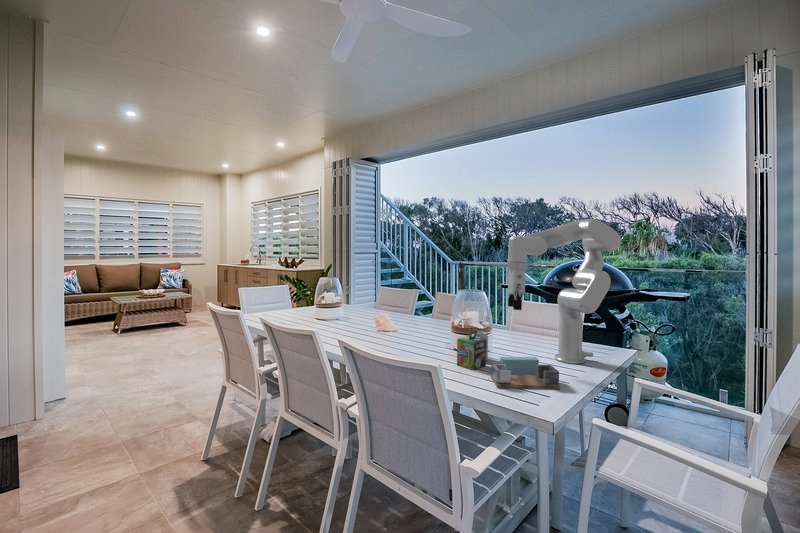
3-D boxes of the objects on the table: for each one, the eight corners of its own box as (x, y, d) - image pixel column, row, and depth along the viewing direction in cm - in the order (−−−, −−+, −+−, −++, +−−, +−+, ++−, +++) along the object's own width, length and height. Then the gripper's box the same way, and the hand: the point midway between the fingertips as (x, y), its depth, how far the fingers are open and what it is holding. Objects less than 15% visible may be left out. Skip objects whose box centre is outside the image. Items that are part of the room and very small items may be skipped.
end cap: (504, 375, 150) (505, 364, 149) (510, 382, 141) (510, 371, 141) (491, 374, 150) (491, 364, 149) (496, 382, 141) (496, 371, 141)
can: (486, 356, 180) (487, 330, 179) (488, 361, 172) (489, 334, 172) (469, 356, 181) (470, 330, 180) (471, 360, 173) (471, 333, 172)
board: (549, 378, 150) (549, 363, 150) (560, 389, 139) (560, 373, 139) (490, 377, 151) (491, 362, 151) (497, 388, 140) (497, 372, 140)
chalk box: (468, 361, 173) (469, 327, 172) (486, 365, 167) (487, 330, 166) (455, 365, 167) (456, 330, 166) (474, 370, 160) (474, 334, 159)
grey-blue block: (535, 371, 159) (535, 357, 159) (538, 375, 155) (538, 360, 155) (500, 371, 159) (500, 356, 159) (502, 374, 155) (502, 359, 155)
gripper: (531, 267, 154) (529, 311, 154) (520, 266, 171) (518, 305, 171) (512, 266, 154) (509, 310, 155) (503, 265, 171) (501, 305, 172)
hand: (514, 308), depth 163 cm, fingers open, 9 cm apart
